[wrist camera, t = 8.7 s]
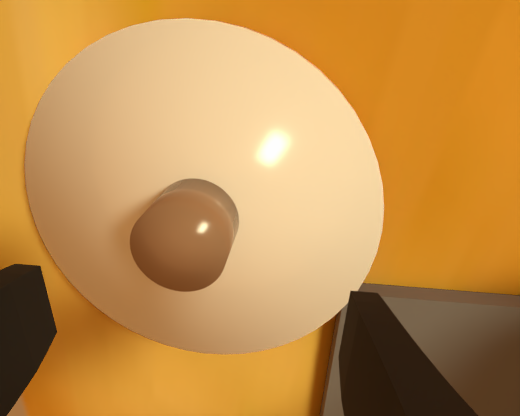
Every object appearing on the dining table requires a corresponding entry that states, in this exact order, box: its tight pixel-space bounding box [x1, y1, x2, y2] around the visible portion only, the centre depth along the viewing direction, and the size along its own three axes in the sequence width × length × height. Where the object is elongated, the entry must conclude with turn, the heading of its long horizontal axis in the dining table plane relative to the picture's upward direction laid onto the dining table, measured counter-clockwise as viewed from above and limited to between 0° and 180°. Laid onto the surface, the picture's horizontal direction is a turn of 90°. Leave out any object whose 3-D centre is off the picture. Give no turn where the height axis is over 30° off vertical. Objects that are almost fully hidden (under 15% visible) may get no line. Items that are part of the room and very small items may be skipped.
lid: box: [25, 18, 384, 354], centre depth 18 cm, size 17×17×4 cm
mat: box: [320, 283, 520, 416], centre depth 24 cm, size 15×15×1 cm
